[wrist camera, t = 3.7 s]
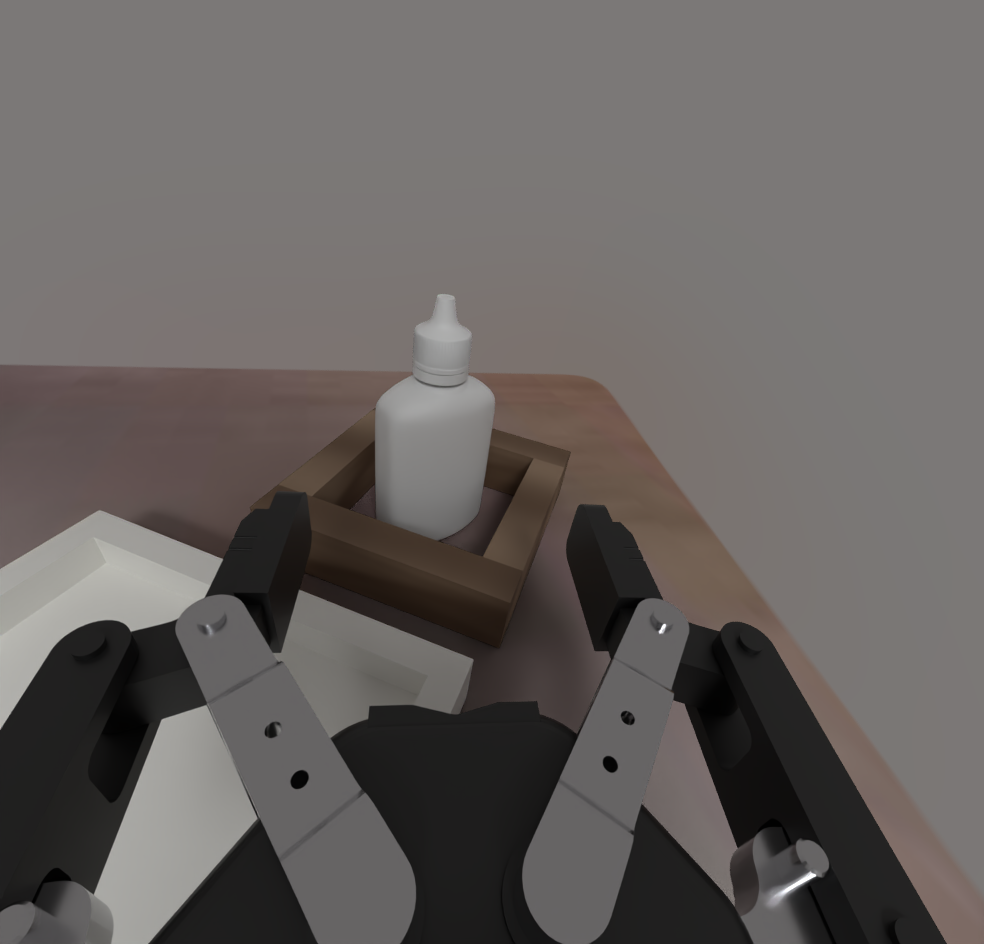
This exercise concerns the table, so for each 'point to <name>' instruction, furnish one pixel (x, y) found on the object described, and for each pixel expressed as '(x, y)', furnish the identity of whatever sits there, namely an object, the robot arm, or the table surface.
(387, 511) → the eye dropper bottle
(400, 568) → the walnut holder
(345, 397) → the table surface
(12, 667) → the tray
